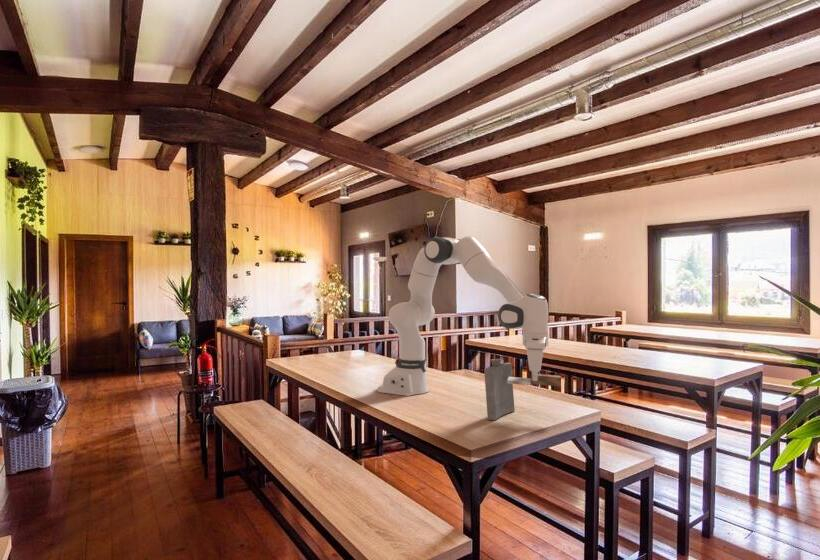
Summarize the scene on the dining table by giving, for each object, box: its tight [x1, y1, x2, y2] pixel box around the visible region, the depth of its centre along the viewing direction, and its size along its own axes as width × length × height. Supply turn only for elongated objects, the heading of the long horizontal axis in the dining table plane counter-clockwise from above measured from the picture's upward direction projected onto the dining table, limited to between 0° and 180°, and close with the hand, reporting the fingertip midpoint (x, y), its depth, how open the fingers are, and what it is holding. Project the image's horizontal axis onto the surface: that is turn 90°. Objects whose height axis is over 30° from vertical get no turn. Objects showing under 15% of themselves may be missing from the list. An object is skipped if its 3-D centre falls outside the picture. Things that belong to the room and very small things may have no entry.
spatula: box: [507, 373, 562, 388], centre depth 163 cm, size 18×6×3 cm, turn 73°
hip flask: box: [483, 358, 515, 421], centre depth 166 cm, size 16×4×20 cm, turn 139°
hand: (535, 379), depth 162 cm, fingers closed on spatula, 2 cm apart
